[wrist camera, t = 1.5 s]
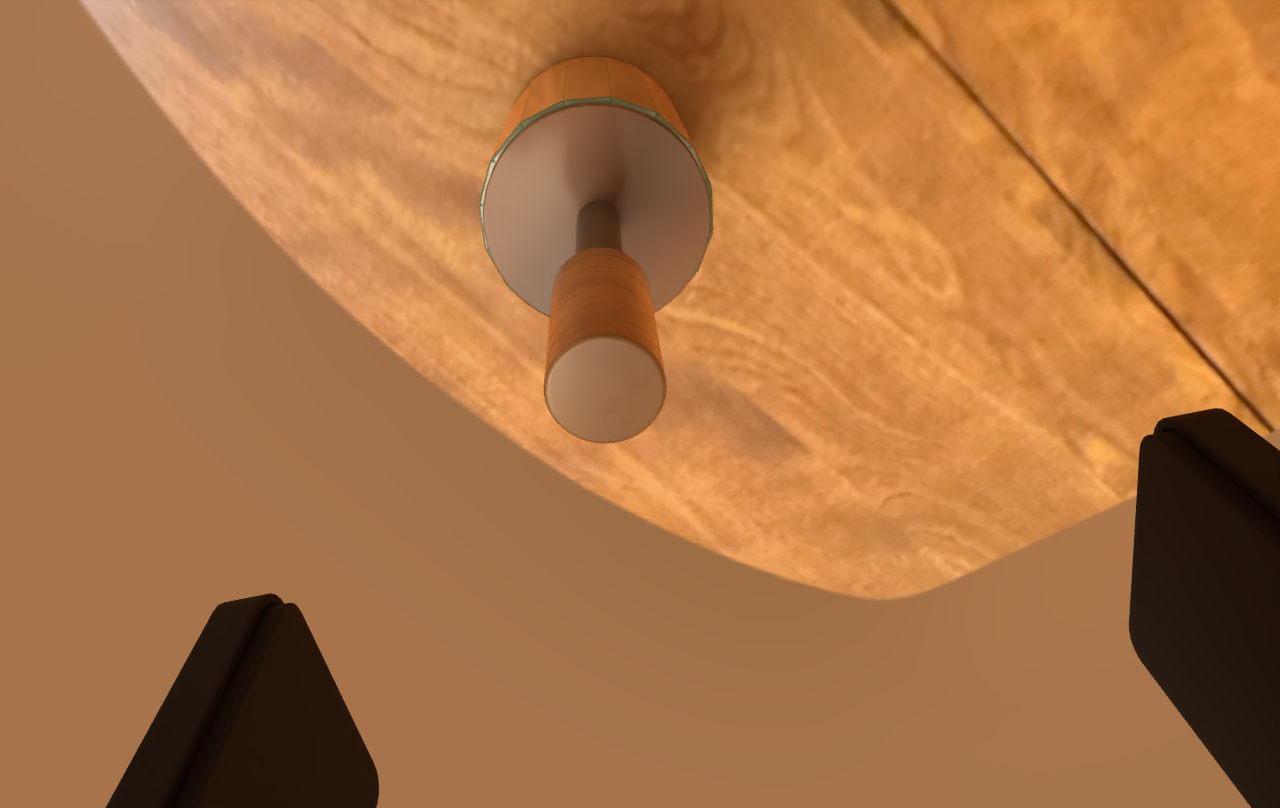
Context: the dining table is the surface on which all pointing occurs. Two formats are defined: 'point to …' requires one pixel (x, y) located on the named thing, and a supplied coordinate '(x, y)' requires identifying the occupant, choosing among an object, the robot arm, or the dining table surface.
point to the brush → (598, 254)
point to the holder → (591, 84)
